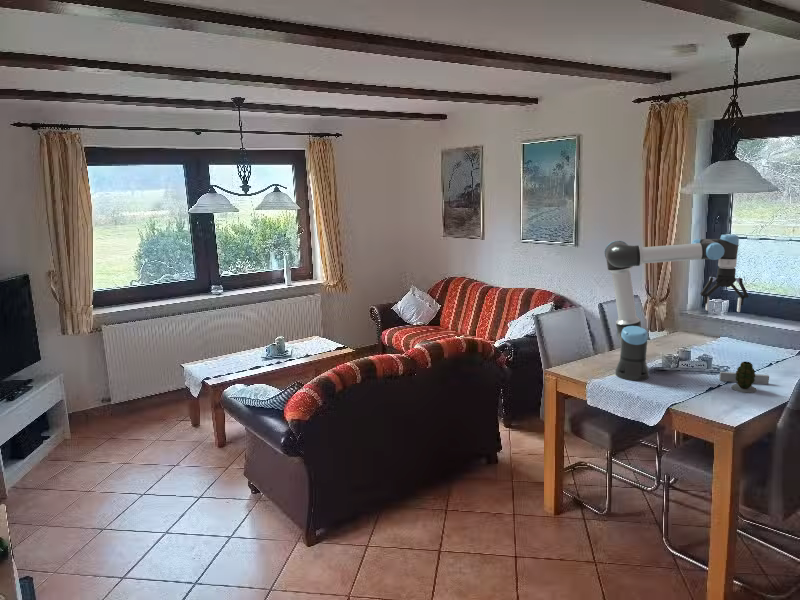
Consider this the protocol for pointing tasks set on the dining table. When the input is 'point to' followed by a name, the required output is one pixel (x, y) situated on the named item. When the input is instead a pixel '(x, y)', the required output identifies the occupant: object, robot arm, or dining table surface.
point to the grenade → (745, 375)
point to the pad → (739, 389)
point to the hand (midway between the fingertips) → (722, 310)
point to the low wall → (731, 377)
